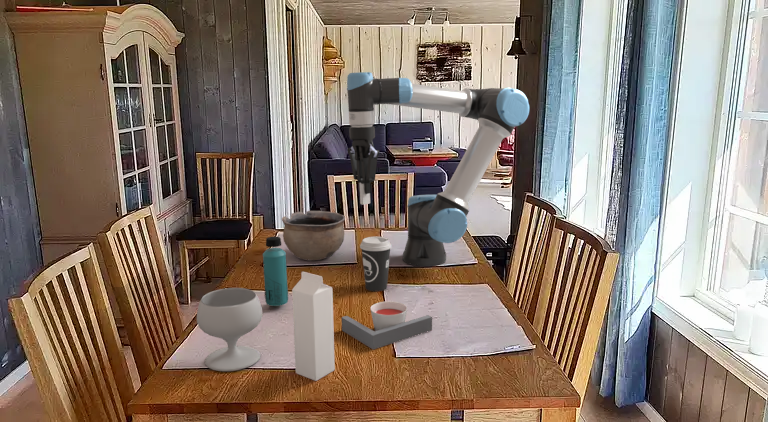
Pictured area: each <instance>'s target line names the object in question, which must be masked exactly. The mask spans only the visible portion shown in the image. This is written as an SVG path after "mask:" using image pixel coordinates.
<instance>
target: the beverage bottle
mask: <svg viewBox="0 0 768 422" xmlns="http://www.w3.org/2000/svg"><path fill="white" fill-rule="evenodd" d="M265 246H266V247H267V249H266V250H265V251H264V252H263V253H262V260H263V278H264V279H263V281H264V291H263V292H264V298H265V304H266V305H267V306H270V307H271V306H272V307H273V306H274V307H278V306H279V307H280V306H283V305H286V304H287V303H288V302H289V291H288V290H289V286H288V284H289V283H288V274H287V259H286V258H287V257H286V256H287V253H286V251H285V250H283V248H280V247H281V246H282V239H281V237H280V236H268V237H266V239H265Z"/></svg>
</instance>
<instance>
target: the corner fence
mask: <svg viewBox="0 0 768 422" xmlns="http://www.w3.org/2000/svg"><path fill="white" fill-rule="evenodd" d="M430 330H431V331H432V330H433V317H432V316H430V315H429V314H426V315H423V316H420V317H417V318H415V319H411V320H407V321H405V322H404V323H401V324H397V325H394V326H391V327H388V328H384V329H381V330H378V331H375V330H373V329H371V328H370V327H367V326H366V325H364V324H362V323H361V322H359V321H357V320H356V319H353V318H352V317H350V316H348V315H345V316H342V317H341V331H342V332H344V333H345V334H347V335H349V336H350V337H352V338H354V339H355V340H357V341H358V342H360V343H362V345H364V346H366V347H368V348H370V349H371V350H376V349H379V348H381V347H385V346H389V345H391V344H395V343H397V341H398V342H400V341H399V340H401V341H403V340H402V339H404V340H406V339H405V338H407V339H409V337H410V338H412V336H413V337H416V336H418V334H419V335H421V333H422V334H425V333H427V331H428V332H431V331H430ZM424 332H425V333H424ZM415 335H416V336H415ZM394 342H395V343H394Z"/></svg>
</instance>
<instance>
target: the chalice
mask: <svg viewBox="0 0 768 422" xmlns="http://www.w3.org/2000/svg"><path fill="white" fill-rule="evenodd" d="M196 313H197V314H196V323H197V326H198V327H199V328H200V330H201V331H202V332H203V333H204V334H206V335H208V336H210V337H211V336H212V337H214V338H218V339H222V340H224V342H226V344H227V347H223V348H219V349H216V350H215V351H213V352H211V353H210V354H209V355H207V357H205V359H204V364H205V366H206V367H207V368H208V369H210V370H213V371H219V372H234V371H235V372H236V371H240V370H244V369H247V368H249V367H252V366H253V365H255V364H256V363H258V361H259V360H260V358H261V352H260V351H259V350H258V349H257V348H254V347H251V346H248V345H247V346H246V345H237V344H238V343H237V342H238V340H239V339H240V338H241V337H243V336H245V335H247V334H248V333H251V332H252V331H253V330H255V328H257V327H258V325H259V324H260V323H261V321H262V318H263V308H262V304H261V300H260V298H259V296H258V295H257V293H256V292H255V291H254V290H252V289H248V288H246V287H245V288H244V287H228V288H220V289H217V290H213V291H210V292H207V293H206V294H205V295H202V298H201V299H200V301H199V303H198V307H197V312H196Z"/></svg>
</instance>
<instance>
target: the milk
mask: <svg viewBox="0 0 768 422" xmlns="http://www.w3.org/2000/svg"><path fill="white" fill-rule="evenodd" d="M300 274H301V279H299V281H298V282H297V283H296V284H295V285H294V287H293V288H292V289H291V292H292V293H291V294H292V299H291V300H292V318H293V337H294V339H293V340H294V342H293V343H294V361H295V362H294V365H295V374H297V375H300V376H302V377H304V378H307V379H308V380H309V379H310V380H312V381H315V382H317V381H319V380H320V379H322V378H324V377H326V376H327V375H329V374H330V373H332V372H334V371H335V368H336V367H335V339H334V338H335V336H334V335H335V331H334V330H335V329H334V328H335V327H334V304H333V303H334V299H333V297H334V296H333V286H330V285H327V284H326V283H324V281H323V279H324V278H323V276H322V275H318V274H313V273H310V272H307V271H301V273H300Z"/></svg>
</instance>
